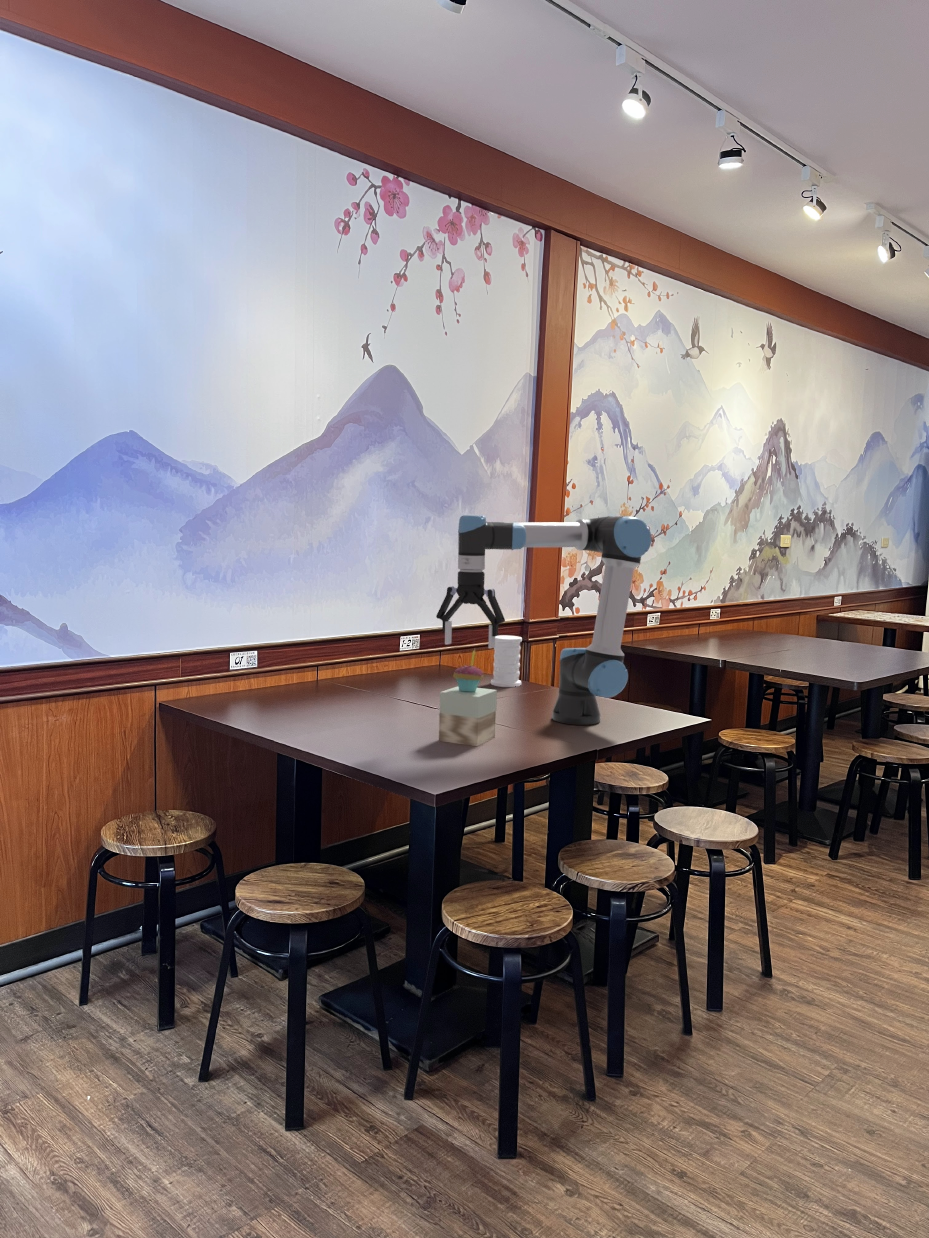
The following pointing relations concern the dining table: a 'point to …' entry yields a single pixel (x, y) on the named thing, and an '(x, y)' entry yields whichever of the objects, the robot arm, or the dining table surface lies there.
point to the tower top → (468, 702)
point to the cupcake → (468, 676)
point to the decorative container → (506, 661)
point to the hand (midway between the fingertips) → (469, 646)
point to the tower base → (466, 729)
